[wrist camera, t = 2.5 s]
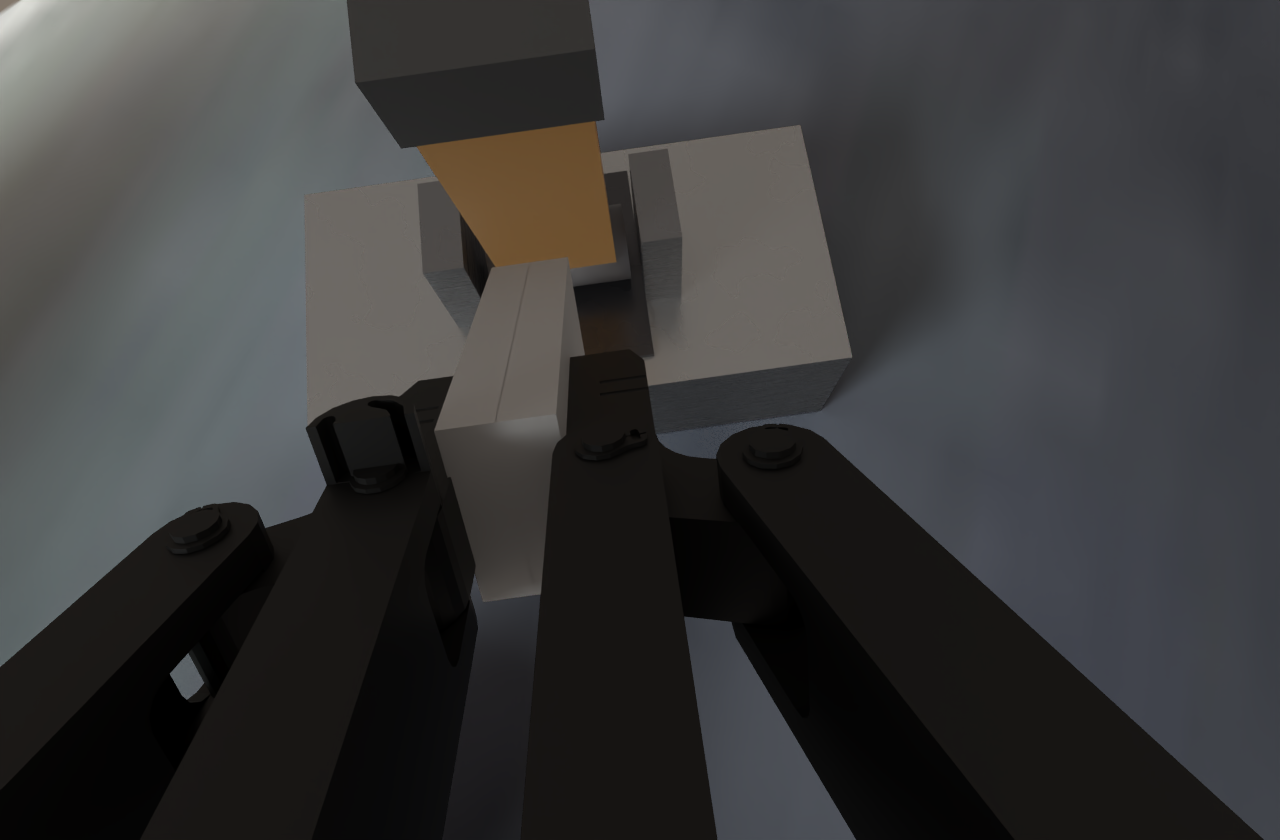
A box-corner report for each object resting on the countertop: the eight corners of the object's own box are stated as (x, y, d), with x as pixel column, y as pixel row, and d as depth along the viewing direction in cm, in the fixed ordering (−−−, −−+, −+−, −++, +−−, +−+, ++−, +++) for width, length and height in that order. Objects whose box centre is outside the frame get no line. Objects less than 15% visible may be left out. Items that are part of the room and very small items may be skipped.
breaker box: (820, 410, 32) (882, 305, 22) (374, 473, 32) (244, 395, 22) (779, 213, 34) (819, 42, 25) (366, 271, 34) (247, 124, 25)
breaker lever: (632, 287, 27) (607, 52, 13) (503, 305, 27) (344, 90, 13) (622, 219, 27) (588, -80, 13) (495, 237, 27) (330, -43, 13)
